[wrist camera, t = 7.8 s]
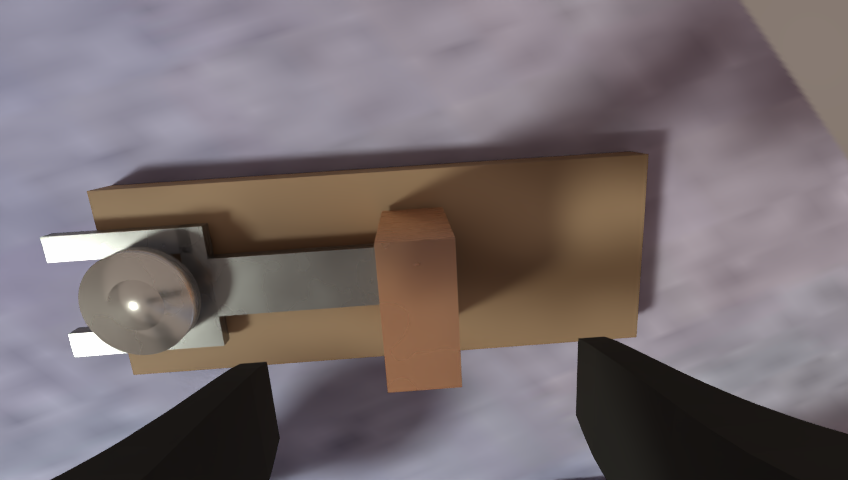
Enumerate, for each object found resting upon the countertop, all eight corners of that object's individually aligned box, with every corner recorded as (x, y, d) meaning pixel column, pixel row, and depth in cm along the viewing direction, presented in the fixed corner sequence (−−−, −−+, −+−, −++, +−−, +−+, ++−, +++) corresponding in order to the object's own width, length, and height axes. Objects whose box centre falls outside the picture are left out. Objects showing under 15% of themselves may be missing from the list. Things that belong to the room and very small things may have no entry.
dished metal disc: (223, 325, 20) (201, 350, 17) (127, 332, 19) (93, 358, 17) (206, 233, 18) (180, 249, 16) (104, 240, 18) (65, 257, 16)
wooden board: (621, 322, 22) (636, 337, 20) (151, 357, 21) (133, 374, 20) (630, 151, 20) (648, 154, 18) (110, 185, 19) (86, 191, 18)
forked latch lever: (455, 322, 20) (470, 386, 15) (84, 349, 19) (-17, 423, 15) (450, 206, 18) (465, 237, 14) (51, 233, 18) (-72, 274, 13)
